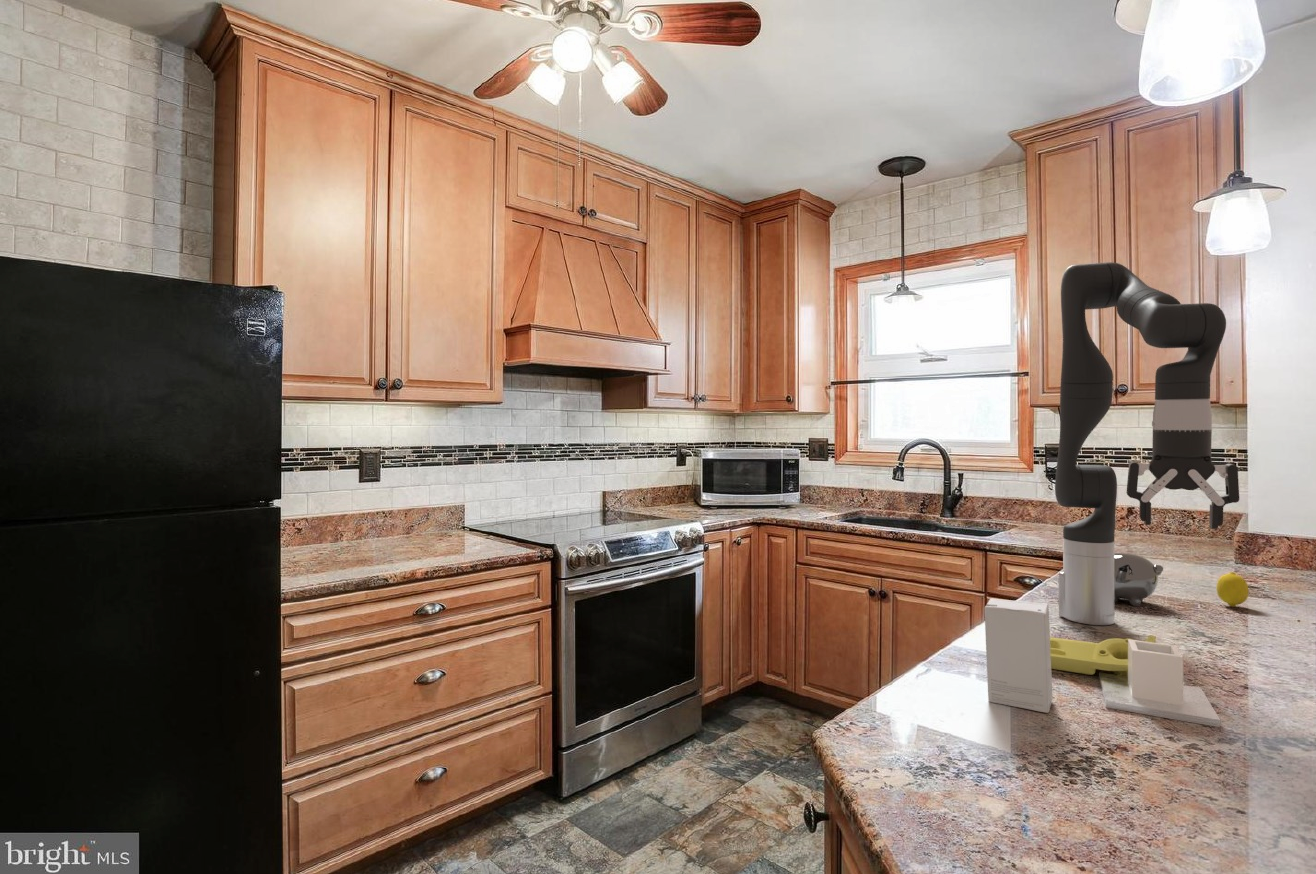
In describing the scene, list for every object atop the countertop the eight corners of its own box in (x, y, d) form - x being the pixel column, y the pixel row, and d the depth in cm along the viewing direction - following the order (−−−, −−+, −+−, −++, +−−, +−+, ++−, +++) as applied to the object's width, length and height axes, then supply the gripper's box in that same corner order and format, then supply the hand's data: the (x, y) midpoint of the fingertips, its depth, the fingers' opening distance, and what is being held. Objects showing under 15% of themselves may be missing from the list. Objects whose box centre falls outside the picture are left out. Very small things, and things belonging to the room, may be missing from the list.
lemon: (1215, 602, 154) (1215, 568, 154) (1246, 606, 151) (1246, 571, 151) (1217, 607, 150) (1218, 572, 150) (1250, 611, 147) (1250, 575, 147)
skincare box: (1052, 701, 99) (1052, 603, 99) (1048, 716, 94) (1048, 612, 94) (990, 689, 104) (990, 595, 104) (984, 702, 99) (984, 603, 99)
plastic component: (1011, 650, 115) (1024, 614, 122) (1020, 683, 117) (1032, 646, 124) (1151, 670, 101) (1157, 628, 108) (1158, 707, 104) (1163, 664, 110)
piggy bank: (1090, 592, 165) (1090, 546, 165) (1165, 602, 155) (1165, 553, 155) (1081, 600, 157) (1081, 552, 157) (1160, 612, 147) (1160, 560, 147)
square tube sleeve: (1132, 697, 98) (1132, 650, 98) (1127, 683, 103) (1127, 639, 103) (1183, 705, 95) (1183, 657, 95) (1176, 691, 100) (1176, 645, 100)
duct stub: (1105, 707, 97) (1105, 666, 97) (1099, 678, 108) (1099, 642, 108) (1220, 727, 90) (1220, 683, 90) (1200, 694, 101) (1201, 655, 101)
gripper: (1129, 428, 107) (1128, 526, 108) (1244, 428, 100) (1242, 534, 101) (1126, 426, 114) (1124, 519, 114) (1233, 426, 106) (1231, 526, 107)
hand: (1180, 526), depth 108 cm, fingers open, 8 cm apart
